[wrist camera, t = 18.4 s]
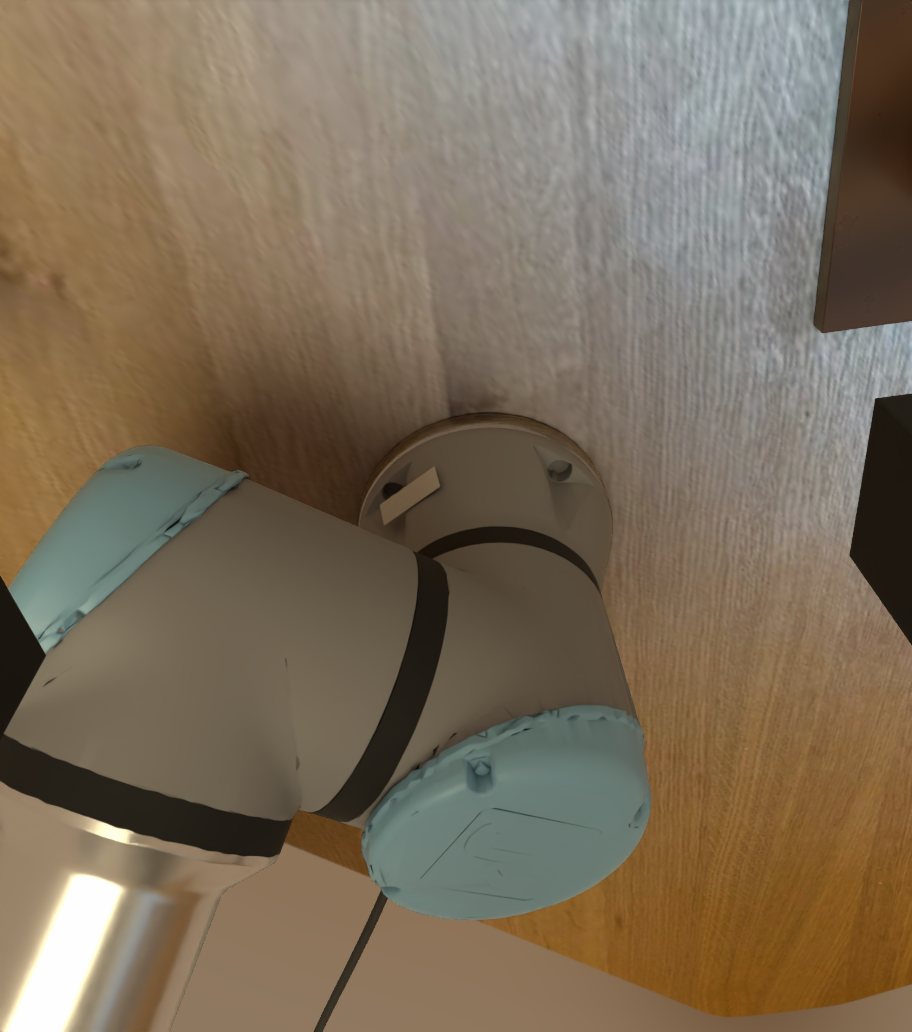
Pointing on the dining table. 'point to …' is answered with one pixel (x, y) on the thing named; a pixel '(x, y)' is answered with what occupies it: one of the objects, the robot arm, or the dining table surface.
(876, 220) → the walnut board
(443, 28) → the dining table surface
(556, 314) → the dining table surface
